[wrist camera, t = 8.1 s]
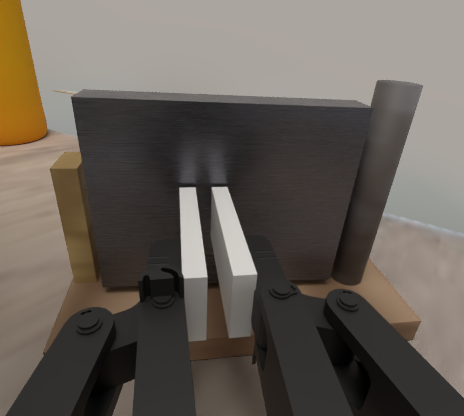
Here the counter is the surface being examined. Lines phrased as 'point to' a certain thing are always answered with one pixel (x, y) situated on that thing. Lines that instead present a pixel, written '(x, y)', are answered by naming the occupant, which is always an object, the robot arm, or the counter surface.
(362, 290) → the grey model on base
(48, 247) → the counter surface
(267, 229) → the grey stone panel
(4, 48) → the beer bottle
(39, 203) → the counter surface
